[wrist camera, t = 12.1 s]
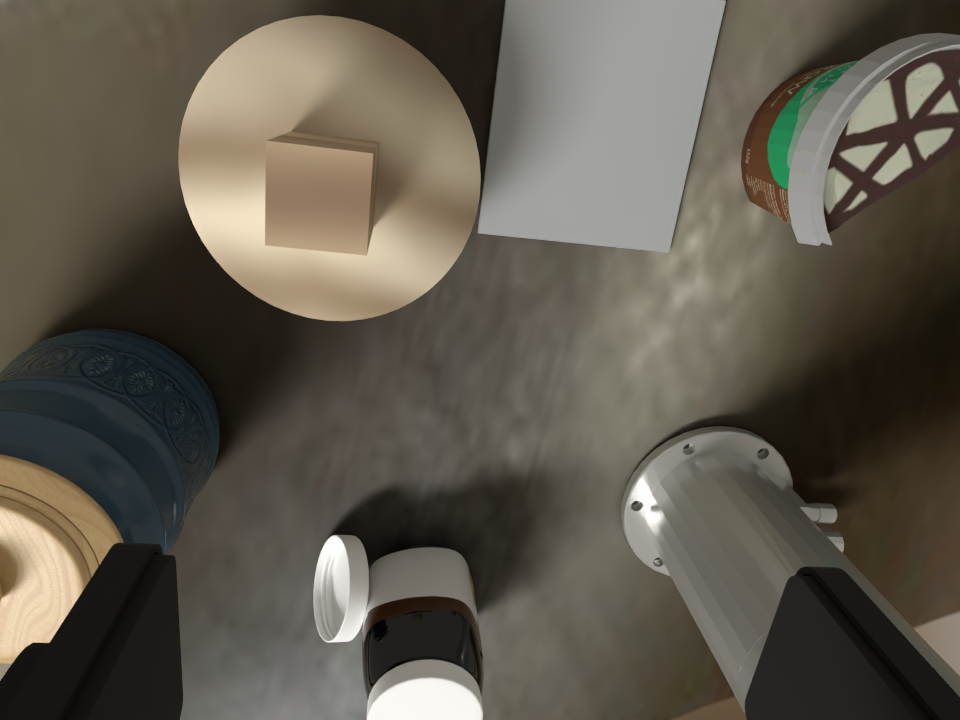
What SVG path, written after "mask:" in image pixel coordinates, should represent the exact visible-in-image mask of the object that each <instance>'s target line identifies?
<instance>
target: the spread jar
mask: <svg viewBox="0 0 960 720" xmlns="http://www.w3.org/2000/svg"><path fill="white" fill-rule="evenodd" d="M314 615H315V621H316V625H317V629H318V632H319V634H320V636H321V638H322V639H323V640H324V641H326V642H347V641H350V640H352V639H353V638H354V637H355V636H356V635H357V633H358V632H359V630H360V628H361V625H362V623H363V620H364V623H363V643H362V661H363V679H364V686H365V692H366V696H367V699H368V708H367V720H483V709H482V700H481V695H482V689H483V678H484V672H483V653H482V646H481V639H480V632H479V625H478V618H477V610H476V602H475V595H474V588H473V583H472V578H471V574H470V571H469V568H468V565H467V563H466V561H465V559H464V558H463V557H462V555H461V554H460V553H458V552H457V551H456V550H454V549H451V548H448V547H443V546H432V545H420V546H412V547H407V548H403V549H399V550H396V551H393V552H390V553H388V554H385V555H383V556H382V557H380V558H379V559H377V560H376V561H375V562H374V563H373V564H372V566H371V568H370V571H369V569H368V561H367V556H366V552H365V549H364V546H363V544H362V543H361V541H360V539H358V538H357V537H356V536H353V535H332V536H331V537H329V538H328V539H327V541H326V542H325V544H324V546H323V548H322V550H321V553H320V556H319V559H318V563H317V567H316V573H315V580H314Z"/></svg>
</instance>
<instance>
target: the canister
mask: <svg viewBox="0 0 960 720" xmlns="http://www.w3.org/2000/svg"><path fill="white" fill-rule="evenodd" d="M219 441H220V418H219V413H218V409H217V405H216V402H215V400H214V397H213V395H212V393H211V391H210V389H209V387H208V386H207V384H206V382H205V381H204V380H203V378H202V377H201V375H200V374H199V373H198V372H197V371H196V370H195V369H194V367H193V366H192V365H191V364H190V363H188V362H187V361H186V360H185V359H184V358H183V357H181V356H180V355H179V354H178V353H176V352H175V351H173V350H172V349H170V348H169V347H167V346H165V345H163V344H161V343H159V342H158V341H155V340H153V339H151V338H148V337H146V336H143V335H140V334H136V333H133V332H129V331H124V330H118V329H107V328H95V329H84V330H78V331H74V332H70V333H67V334H62V335H58V336H55V337H52V338H49V339H47V340H44V341H42V342H40V343H38V344H36V345H34V346H32V347H31V348H29V349H28V350H26V351H25V352H23V353H22V354H20V355H19V356H17V357H16V358H15V359H14V360H12V361H11V362H10V363H9V364H8V365H7V366H6V367H5V368H4V369H3V371H2V372H1V373H0V663H13V662H14V660H15V659H16V658H17V656H18V655H19V654H20V653H21V652H22V650H23V649H24V648H25V647H27V646H28V645H30V644H31V643H50V641H51V640H52V638H53V636H54V635H55V633H56V632H57V630H58V629H59V627H60V626H61V624H62V622H63V621H64V619H65V618H66V616H67V615H68V613H69V612H70V610H71V609H72V607H73V605H74V604H75V602H76V601H77V599H78V598H79V596H80V595H81V593H82V591H83V590H84V588H85V587H86V585H87V584H88V582H89V581H90V579H91V578H92V576H93V574H94V573H95V571H96V570H97V568H98V567H99V565H100V564H101V562H102V560H103V559H104V557H105V556H106V554H107V553H108V551H109V550H110V548H111V547H112V546H113V545H114V544H116V543H144V544H159V545H161V548H162V550H163V555H167V554H168V552H169V551H170V550H171V548H172V547H173V545H174V544H175V542H176V540H177V538H178V536H179V534H180V532H181V529H182V526H183V523H184V519H185V516H186V514H187V512H188V510H189V509H190V507H191V505H192V503H193V501H194V499H195V497H196V496H197V495H198V494H199V493H200V491H201V490H202V488H203V487H204V486H205V484H206V482H207V480H208V478H209V476H210V474H211V472H212V470H213V468H214V465H215V463H216V460H217V456H218V451H219Z"/></svg>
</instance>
